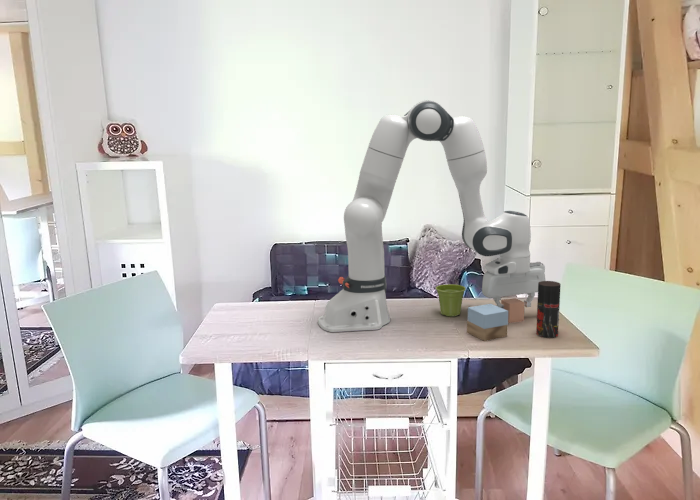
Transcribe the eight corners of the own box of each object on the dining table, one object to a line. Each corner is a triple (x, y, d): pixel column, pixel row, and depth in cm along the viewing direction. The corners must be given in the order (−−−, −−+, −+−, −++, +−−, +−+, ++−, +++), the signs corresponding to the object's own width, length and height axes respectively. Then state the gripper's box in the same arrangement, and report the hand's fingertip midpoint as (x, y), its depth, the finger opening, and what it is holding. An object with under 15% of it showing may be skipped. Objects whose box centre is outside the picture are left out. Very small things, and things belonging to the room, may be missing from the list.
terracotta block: (509, 323, 178) (509, 304, 176) (500, 318, 182) (501, 299, 181) (523, 321, 179) (524, 302, 178) (514, 316, 184) (515, 298, 183)
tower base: (484, 342, 163) (485, 328, 162) (466, 333, 170) (467, 320, 169) (507, 337, 167) (507, 323, 166) (488, 329, 174) (488, 316, 173)
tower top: (484, 328, 162) (484, 315, 161) (467, 320, 169) (467, 307, 169) (507, 324, 165) (508, 310, 164) (490, 316, 172) (490, 303, 172)
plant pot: (433, 310, 192) (433, 284, 191) (461, 309, 193) (462, 283, 191) (438, 319, 183) (438, 292, 181) (468, 317, 183) (468, 291, 182)
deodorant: (559, 338, 164) (562, 286, 161) (537, 337, 165) (539, 286, 162) (556, 331, 169) (559, 281, 166) (535, 330, 171) (537, 280, 168)
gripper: (538, 259, 183) (537, 301, 186) (479, 265, 177) (479, 309, 180) (550, 263, 177) (549, 307, 180) (490, 270, 171) (489, 315, 174)
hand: (513, 308), depth 180 cm, fingers open, 8 cm apart
